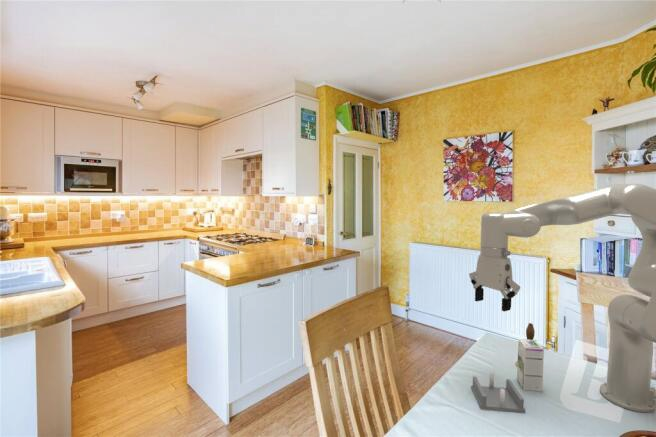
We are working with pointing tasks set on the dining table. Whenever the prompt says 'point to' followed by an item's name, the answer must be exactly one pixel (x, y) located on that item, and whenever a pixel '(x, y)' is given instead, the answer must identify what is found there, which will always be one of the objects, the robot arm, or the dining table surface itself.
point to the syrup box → (530, 364)
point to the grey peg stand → (498, 396)
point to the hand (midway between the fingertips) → (492, 305)
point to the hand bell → (529, 334)
